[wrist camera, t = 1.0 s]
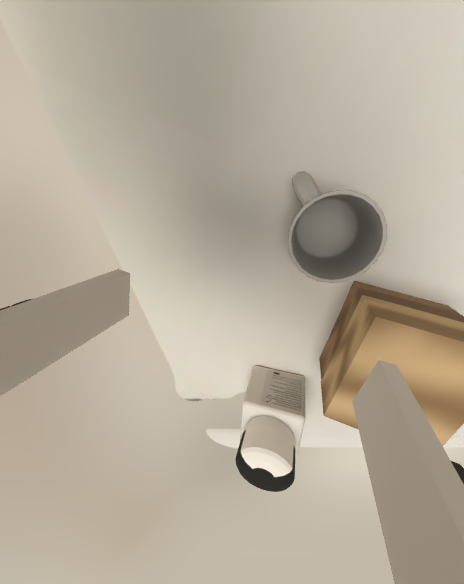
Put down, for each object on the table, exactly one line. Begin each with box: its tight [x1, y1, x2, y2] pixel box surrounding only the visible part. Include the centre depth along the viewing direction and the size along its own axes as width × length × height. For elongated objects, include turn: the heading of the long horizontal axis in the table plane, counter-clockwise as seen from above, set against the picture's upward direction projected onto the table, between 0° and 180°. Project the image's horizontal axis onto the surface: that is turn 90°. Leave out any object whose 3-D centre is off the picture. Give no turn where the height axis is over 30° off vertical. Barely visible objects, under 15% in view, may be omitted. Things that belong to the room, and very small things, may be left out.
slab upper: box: [321, 295, 464, 446], centre depth 22 cm, size 12×10×5 cm
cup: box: [288, 171, 387, 283], centre depth 22 cm, size 7×10×9 cm
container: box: [236, 366, 305, 492], centre depth 30 cm, size 8×8×13 cm
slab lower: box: [320, 281, 464, 381], centre depth 26 cm, size 12×10×5 cm
